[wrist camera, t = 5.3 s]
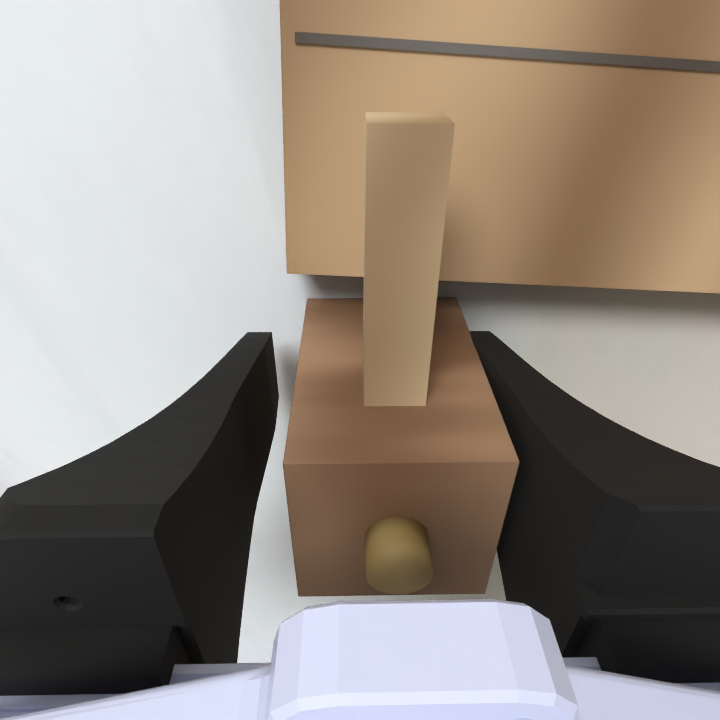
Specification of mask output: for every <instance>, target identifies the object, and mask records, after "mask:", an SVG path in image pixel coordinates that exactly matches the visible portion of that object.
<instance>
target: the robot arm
mask: <svg viewBox="0 0 720 720" xmlns="http://www.w3.org/2000/svg"><path fill="white" fill-rule="evenodd" d="M469 332H470V335H471V339H472V341H473V344H474V346H475V348H476V351H477V353H478V356H479V358H480V361H481V363H482V366H483V369H484V371H485V374H486V376H487V379H488V382H489V384H490V387H491V389H492V392H493V395H494V397H495V400H496V402H497V405H498V408H499V410H500V413H501V415H502V418H503V421H504V423H505V426H506V428H507V431H508V433H509V436H510V439H511V441H512V444H513V446H514V449H515V452H516V454H517V457H518V459H519V466H518V469H517V473H516V477H515V481H514V485H513V488H512V492H511V496H510V500H509V504H508V507H507V511H506V515H505V519H504V522H503V526H502V530H501V534H500V538H499V541H498V545H497V553H498V558H499V564H500V569H501V574H502V579H503V585H504V590H505V596H506V601H504V600H497V599H462V600H396V601H339V602H333V603H327V604H320V605H314V606H308V607H306V608H305V609H303V610H301V611H300V612H298V613H296V614H295V615H293V616H291V617H289V618H288V619H286V620H285V621H284V622H282V623H281V624H280V625H279V628H278V631H277V634H276V637H275V640H274V644H273V652H272V661H271V663H237V658H238V647H239V637H240V627H241V618H242V609H243V600H244V591H245V583H246V575H247V567H248V559H249V551H250V543H251V536H252V529H253V522H254V515H255V510H256V505H257V501H258V497H259V493H260V489H261V485H262V481H263V477H264V473H265V469H266V465H267V461H268V457H269V453H270V449H271V444H272V440H273V436H274V432H275V426H276V418H277V409H278V399H279V393H278V384H277V375H276V366H275V357H274V348H273V339H272V332H248V333H247V334H245V335H244V336H243V337H242V338H241V339H240V340H239V341H238V342H237V344H236V345H235V346H234V347H233V348H232V349H231V350H230V351H229V352H228V353H227V354H226V355H225V356H224V357H223V358H222V359H221V360H220V361H219V362H218V363H217V364H216V365H215V366H214V367H213V368H212V369H211V370H210V371H209V372H208V373H207V374H206V375H205V376H204V377H203V378H202V379H200V380H199V381H198V382H197V383H196V384H195V385H194V386H192V387H191V388H190V389H189V390H188V391H187V392H186V393H184V394H183V395H182V396H181V397H180V398H178V399H177V400H176V401H174V402H173V403H172V404H171V405H169V406H168V407H166V408H165V409H164V410H162V411H161V412H159V413H158V414H157V415H155V416H154V417H152V418H151V419H149V420H148V421H146V422H145V423H143V424H141V425H140V426H138V427H136V428H135V429H133V430H131V431H130V432H128V433H126V434H125V435H123V436H121V437H120V438H118V439H116V440H115V441H113V442H111V443H109V444H107V445H105V446H103V447H101V448H99V449H97V450H96V451H94V452H92V453H90V454H87V455H85V456H83V457H81V458H79V459H77V460H75V461H73V462H71V463H68V464H66V465H64V466H62V467H60V468H57V469H55V470H52V471H50V472H47V473H45V474H42V475H40V476H37V477H35V478H32V479H30V480H28V481H25V482H23V483H20V484H18V485H15V486H12V487H9V488H8V489H7V490H6V491H5V492H4V494H3V495H2V496H1V497H0V720H720V467H717V466H714V465H712V464H709V463H706V462H703V461H700V460H697V459H695V458H692V457H690V456H687V455H685V454H682V453H680V452H677V451H675V450H672V449H670V448H668V447H665V446H663V445H661V444H658V443H656V442H654V441H652V440H649V439H647V438H645V437H643V436H641V435H639V434H637V433H635V432H633V431H631V430H629V429H627V428H625V427H623V426H621V425H619V424H617V423H615V422H613V421H611V420H610V419H608V418H606V417H604V416H603V415H601V414H599V413H598V412H596V411H594V410H593V409H591V408H589V407H588V406H586V405H584V404H583V403H581V402H579V401H578V400H576V399H575V398H573V397H572V396H570V395H569V394H567V393H566V392H565V391H563V390H562V389H560V388H559V387H558V386H556V385H555V384H553V383H552V382H551V381H549V380H548V379H547V378H545V377H544V376H543V375H542V374H540V373H539V372H538V371H537V370H535V369H534V368H533V367H532V366H530V365H529V364H528V363H527V362H526V361H524V360H523V359H522V358H521V357H520V356H518V355H517V354H516V353H515V352H514V351H513V350H511V349H510V348H509V347H508V346H507V345H506V344H504V343H503V342H502V341H501V340H500V339H499V338H497V337H496V336H495V335H494V334H492V333H491V332H490V331H469Z"/></svg>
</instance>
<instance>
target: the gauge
mask: <svg viewBox="0 0 720 720" xmlns="http://www.w3.org/2000/svg"><path fill="white" fill-rule="evenodd" d="M454 128H455V123H454V122H453V121H452V120H451V119H450V118H449V117H448V116H447V115H446V114H445V113H444V112H365V191H364V292H363V298H331V299H307V304H306V311H305V318H304V324H303V331H302V338H301V345H300V352H299V358H298V365H297V372H296V379H295V385H294V392H293V399H292V406H291V412H290V419H289V426H288V433H287V440H286V446H285V453H284V460H283V470H284V479H285V487H286V496H287V504H288V513H289V521H290V530H291V538H292V546H293V555H294V563H295V572H296V580H297V589H298V596H359V595H425V594H485V591H486V587H487V583H488V579H489V575H490V572H491V568H492V564H493V560H494V557H495V553H496V549H497V545H498V541H499V538H500V534H501V530H502V526H503V522H504V519H505V515H506V511H507V507H508V504H509V500H510V496H511V492H512V488H513V485H514V481H515V477H516V473H517V469H518V466H519V459H518V457H517V454H516V452H515V449H514V446H513V444H512V441H511V439H510V436H509V433H508V431H507V428H506V426H505V423H504V421H503V418H502V415H501V413H500V410H499V408H498V405H497V402H496V400H495V397H494V395H493V392H492V389H491V387H490V384H489V382H488V379H487V376H486V374H485V371H484V369H483V366H482V363H481V361H480V358H479V356H478V353H477V351H476V348H475V346H474V344H473V341H472V339H471V335H470V332H469V330H468V327H467V325H466V322H465V319H464V317H463V314H462V312H461V309H460V306H459V304H458V301H457V299H456V298H437V292H438V283H439V273H440V263H441V254H442V244H443V234H444V225H445V215H446V206H447V196H448V186H449V177H450V167H451V157H452V148H453V138H454Z"/></svg>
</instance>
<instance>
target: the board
mask: <svg viewBox="0 0 720 720" xmlns="http://www.w3.org/2000/svg"><path fill="white" fill-rule="evenodd" d="M280 30H281V68H282V106H283V144H284V183H285V221H286V259H287V273H288V274H310V275H332V276H354V277H364V191H365V112H444V113H445V114H446V115H447V116H448V117H449V118H450V119H451V120H452V121H453V122H454V123H455V128H454V138H453V148H452V157H451V167H450V177H449V186H448V196H447V206H446V215H445V225H444V234H443V244H442V254H441V263H440V273H439V280H441V281H462V282H484V283H506V284H527V285H549V286H571V287H593V288H614V289H636V290H658V291H680V292H701V293H720V0H280Z"/></svg>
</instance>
